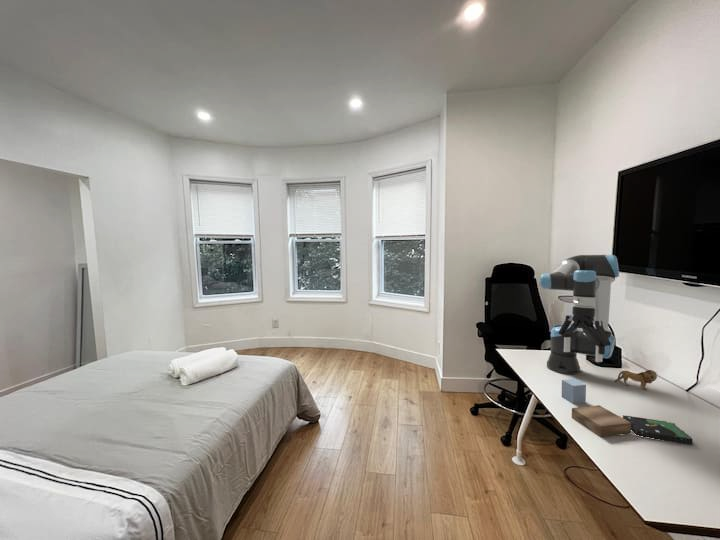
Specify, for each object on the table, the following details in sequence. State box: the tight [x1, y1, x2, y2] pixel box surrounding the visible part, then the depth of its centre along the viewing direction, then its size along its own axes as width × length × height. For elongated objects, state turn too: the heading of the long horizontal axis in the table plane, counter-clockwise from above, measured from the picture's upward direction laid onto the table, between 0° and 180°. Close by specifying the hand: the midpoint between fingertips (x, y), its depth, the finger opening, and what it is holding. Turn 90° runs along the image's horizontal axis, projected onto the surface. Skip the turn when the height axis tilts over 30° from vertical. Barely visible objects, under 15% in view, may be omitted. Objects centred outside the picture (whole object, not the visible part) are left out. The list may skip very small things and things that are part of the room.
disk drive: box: [622, 415, 694, 446], centre depth 103 cm, size 10×3×15 cm
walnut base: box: [571, 404, 632, 438], centre depth 107 cm, size 12×12×4 cm
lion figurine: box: [614, 369, 658, 391], centre depth 136 cm, size 15×5×9 cm, turn 54°
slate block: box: [561, 378, 587, 405], centre depth 126 cm, size 6×6×8 cm
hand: (581, 356), depth 122 cm, fingers open, 13 cm apart
